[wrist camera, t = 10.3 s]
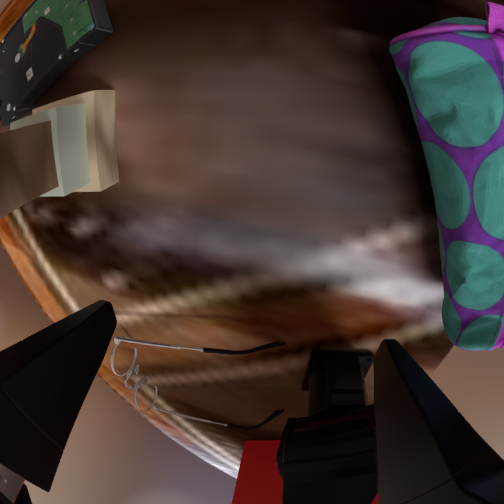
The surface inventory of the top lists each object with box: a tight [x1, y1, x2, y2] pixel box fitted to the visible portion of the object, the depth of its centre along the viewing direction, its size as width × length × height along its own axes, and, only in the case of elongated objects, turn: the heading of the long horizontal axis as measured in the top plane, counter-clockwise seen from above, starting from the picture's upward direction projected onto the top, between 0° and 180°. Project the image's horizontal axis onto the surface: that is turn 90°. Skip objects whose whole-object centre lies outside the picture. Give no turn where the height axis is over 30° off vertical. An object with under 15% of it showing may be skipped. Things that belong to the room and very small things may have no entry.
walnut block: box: [0, 121, 59, 218], centre depth 11 cm, size 4×4×6 cm
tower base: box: [32, 90, 119, 192], centre depth 18 cm, size 8×8×3 cm
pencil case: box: [389, 2, 504, 351], centre depth 11 cm, size 21×9×10 cm, turn 25°
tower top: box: [10, 103, 91, 196], centre depth 15 cm, size 6×6×3 cm
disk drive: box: [0, 0, 113, 126], centre depth 13 cm, size 10×3×15 cm
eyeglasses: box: [111, 336, 286, 429], centre depth 28 cm, size 16×19×5 cm
